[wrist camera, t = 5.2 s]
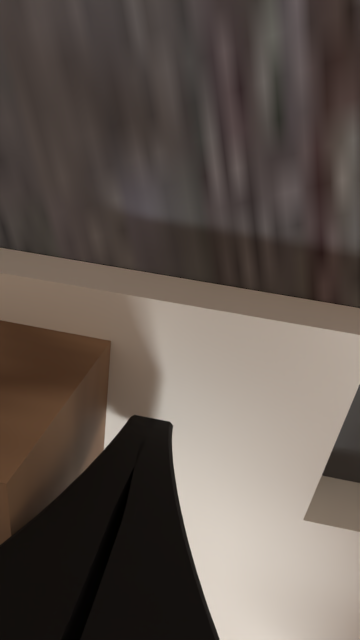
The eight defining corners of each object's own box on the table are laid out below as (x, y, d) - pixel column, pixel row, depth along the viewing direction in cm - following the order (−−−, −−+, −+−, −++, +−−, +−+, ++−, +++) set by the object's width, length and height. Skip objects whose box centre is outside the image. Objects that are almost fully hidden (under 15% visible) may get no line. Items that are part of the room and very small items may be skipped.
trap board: (587, 346, 10) (823, 452, 6) (391, 625, 17) (446, 771, 13) (-68, 236, 12) (-226, 264, 8) (-23, 533, 18) (-96, 637, 14)
